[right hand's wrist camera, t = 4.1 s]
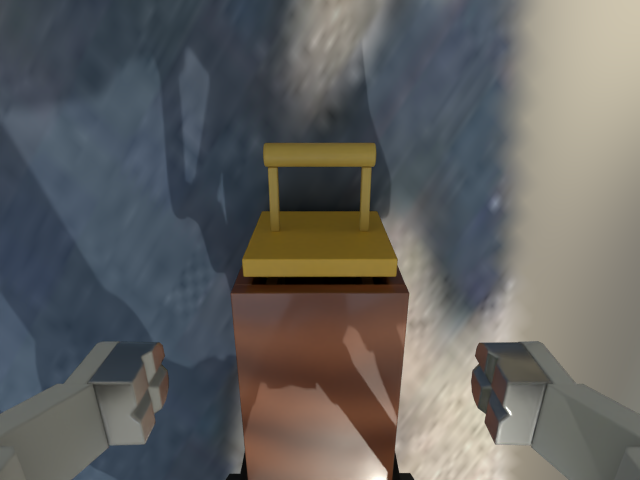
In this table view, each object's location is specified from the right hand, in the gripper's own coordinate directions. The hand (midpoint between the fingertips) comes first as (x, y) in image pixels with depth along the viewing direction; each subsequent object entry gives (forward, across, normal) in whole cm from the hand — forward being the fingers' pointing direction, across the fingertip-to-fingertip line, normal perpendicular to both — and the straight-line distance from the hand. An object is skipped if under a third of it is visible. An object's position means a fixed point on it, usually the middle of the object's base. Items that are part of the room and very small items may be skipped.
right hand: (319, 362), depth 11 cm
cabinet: (+23, 0, -16) cm, 28 cm away
